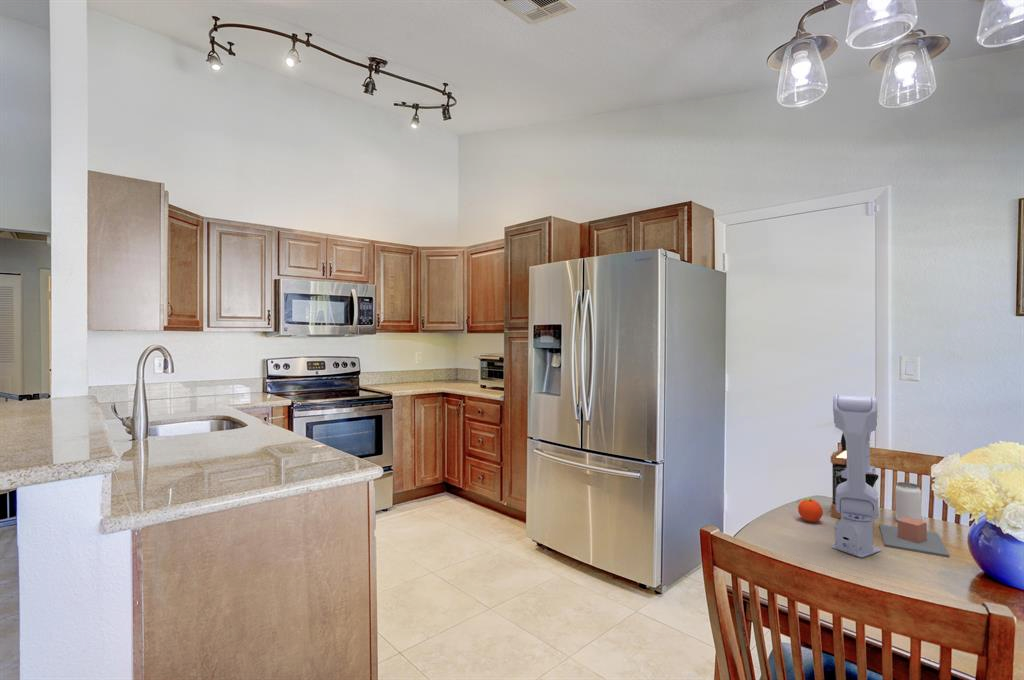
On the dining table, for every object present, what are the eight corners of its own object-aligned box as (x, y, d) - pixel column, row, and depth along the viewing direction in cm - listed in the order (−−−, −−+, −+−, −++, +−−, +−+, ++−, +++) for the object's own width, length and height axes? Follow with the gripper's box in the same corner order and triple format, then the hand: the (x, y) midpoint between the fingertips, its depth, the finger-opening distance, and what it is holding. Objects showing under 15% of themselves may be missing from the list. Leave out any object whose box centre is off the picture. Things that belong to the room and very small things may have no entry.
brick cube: (918, 543, 141) (917, 525, 141) (897, 537, 146) (897, 520, 146) (926, 539, 144) (926, 522, 144) (906, 534, 148) (906, 517, 148)
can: (898, 523, 158) (897, 486, 158) (893, 517, 164) (893, 480, 164) (924, 527, 155) (923, 488, 155) (918, 520, 161) (918, 483, 161)
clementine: (790, 518, 164) (789, 496, 164) (804, 515, 167) (803, 493, 167) (813, 526, 157) (813, 503, 157) (827, 522, 160) (827, 500, 160)
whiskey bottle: (830, 517, 165) (829, 420, 165) (833, 508, 172) (832, 416, 173) (869, 523, 158) (868, 422, 159) (870, 515, 166) (869, 418, 166)
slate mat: (949, 557, 134) (949, 555, 134) (884, 546, 141) (884, 544, 141) (937, 535, 149) (937, 533, 149) (879, 526, 156) (879, 524, 156)
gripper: (858, 460, 147) (859, 506, 147) (885, 454, 154) (886, 498, 154) (834, 455, 153) (834, 499, 153) (861, 450, 160) (861, 492, 160)
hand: (858, 498), depth 154 cm, fingers open, 7 cm apart
